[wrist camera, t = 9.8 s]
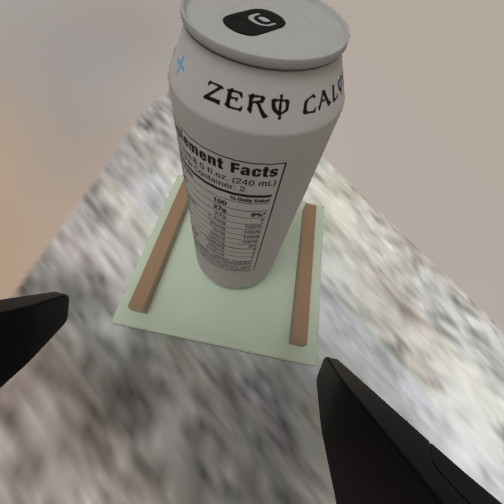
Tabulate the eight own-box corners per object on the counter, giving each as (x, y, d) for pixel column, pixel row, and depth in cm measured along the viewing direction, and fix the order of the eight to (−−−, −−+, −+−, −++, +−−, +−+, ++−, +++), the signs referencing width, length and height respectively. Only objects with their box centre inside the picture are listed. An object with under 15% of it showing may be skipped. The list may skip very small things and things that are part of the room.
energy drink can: (287, 260, 21) (408, 37, 8) (232, 308, 18) (269, 103, 5) (238, 213, 22) (266, -37, 9) (181, 252, 20) (110, -13, 7)
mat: (313, 366, 18) (321, 364, 16) (114, 324, 17) (105, 318, 16) (321, 210, 24) (327, 199, 23) (179, 179, 24) (177, 166, 23)
